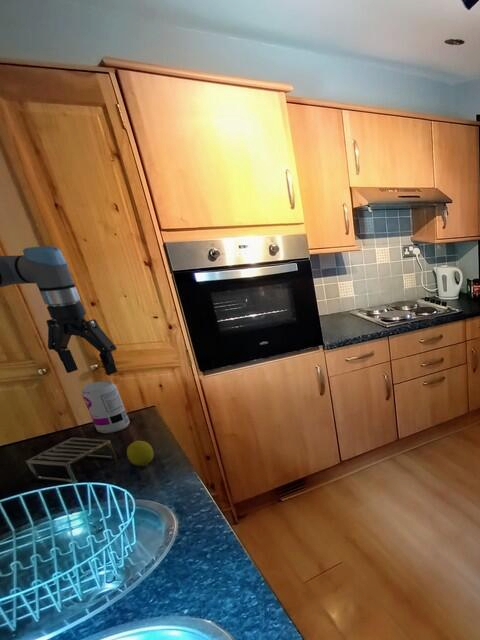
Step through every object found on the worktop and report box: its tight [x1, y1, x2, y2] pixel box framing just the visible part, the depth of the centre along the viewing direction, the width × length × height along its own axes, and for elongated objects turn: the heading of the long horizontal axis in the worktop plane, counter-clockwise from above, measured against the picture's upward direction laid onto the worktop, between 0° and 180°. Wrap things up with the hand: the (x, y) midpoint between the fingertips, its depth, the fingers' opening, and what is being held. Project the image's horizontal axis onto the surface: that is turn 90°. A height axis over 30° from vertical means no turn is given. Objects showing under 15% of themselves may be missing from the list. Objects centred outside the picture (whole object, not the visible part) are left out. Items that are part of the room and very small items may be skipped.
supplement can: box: [81, 380, 130, 434], centre depth 142 cm, size 8×8×15 cm
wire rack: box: [24, 436, 119, 484], centre depth 121 cm, size 12×12×7 cm
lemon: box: [126, 440, 155, 467], centre depth 124 cm, size 6×6×8 cm
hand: (92, 372), depth 137 cm, fingers open, 13 cm apart
